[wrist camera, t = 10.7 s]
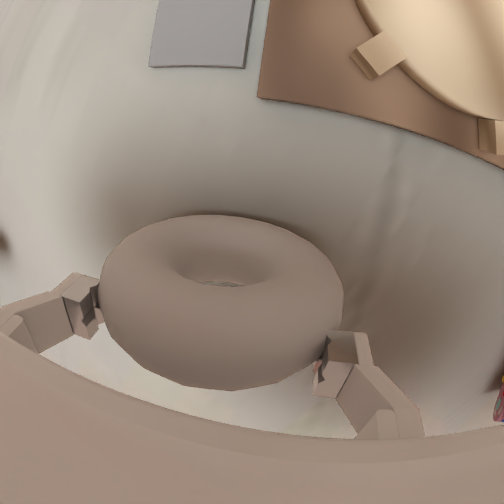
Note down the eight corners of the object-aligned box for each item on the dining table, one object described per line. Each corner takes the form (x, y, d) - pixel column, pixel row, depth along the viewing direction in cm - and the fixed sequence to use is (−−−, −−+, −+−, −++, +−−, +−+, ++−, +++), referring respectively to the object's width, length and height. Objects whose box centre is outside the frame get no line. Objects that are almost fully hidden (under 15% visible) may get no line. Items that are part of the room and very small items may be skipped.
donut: (339, 222, 15) (380, 363, 6) (325, 278, 17) (337, 432, 8) (160, 195, 16) (34, 285, 7) (161, 249, 18) (61, 361, 9)
